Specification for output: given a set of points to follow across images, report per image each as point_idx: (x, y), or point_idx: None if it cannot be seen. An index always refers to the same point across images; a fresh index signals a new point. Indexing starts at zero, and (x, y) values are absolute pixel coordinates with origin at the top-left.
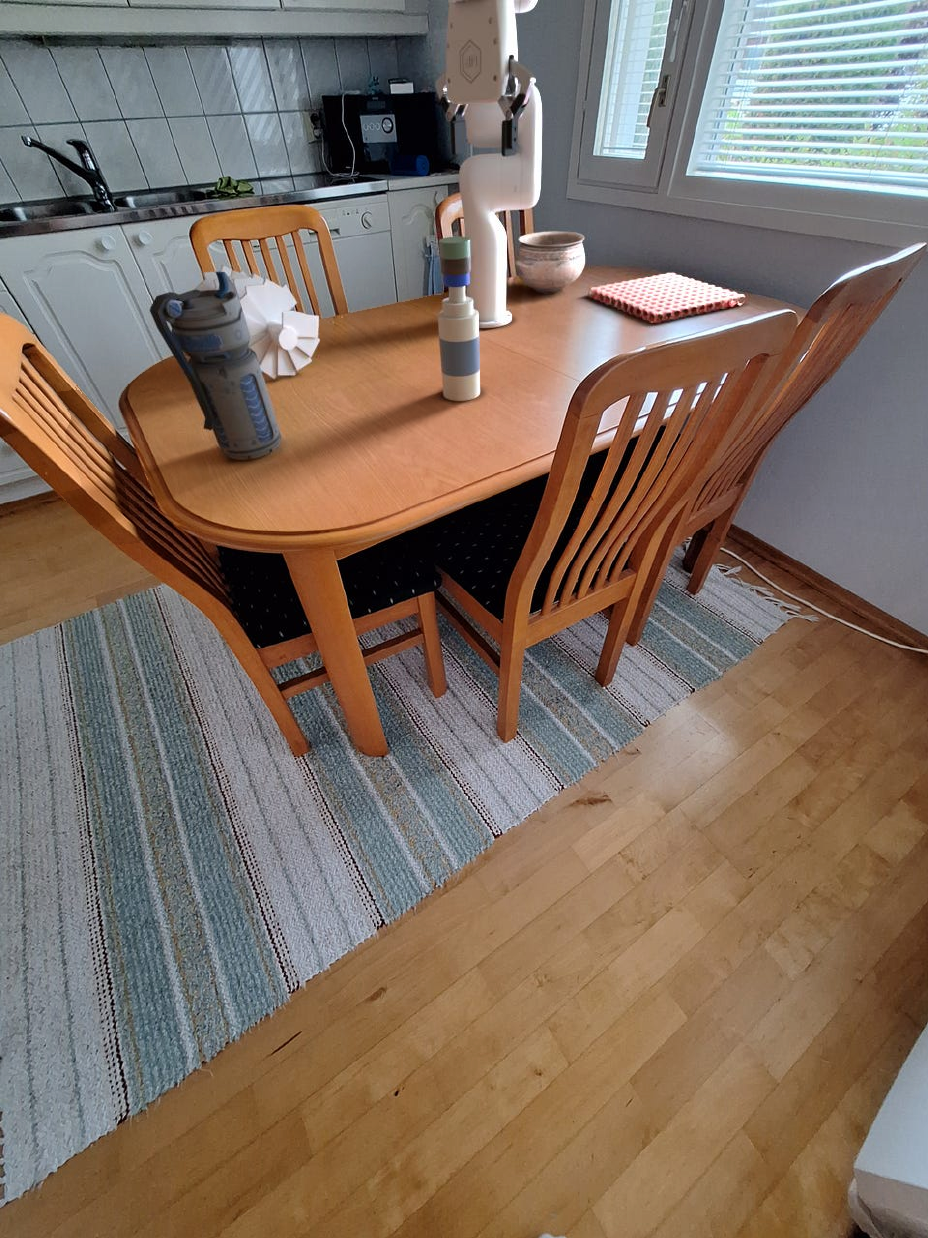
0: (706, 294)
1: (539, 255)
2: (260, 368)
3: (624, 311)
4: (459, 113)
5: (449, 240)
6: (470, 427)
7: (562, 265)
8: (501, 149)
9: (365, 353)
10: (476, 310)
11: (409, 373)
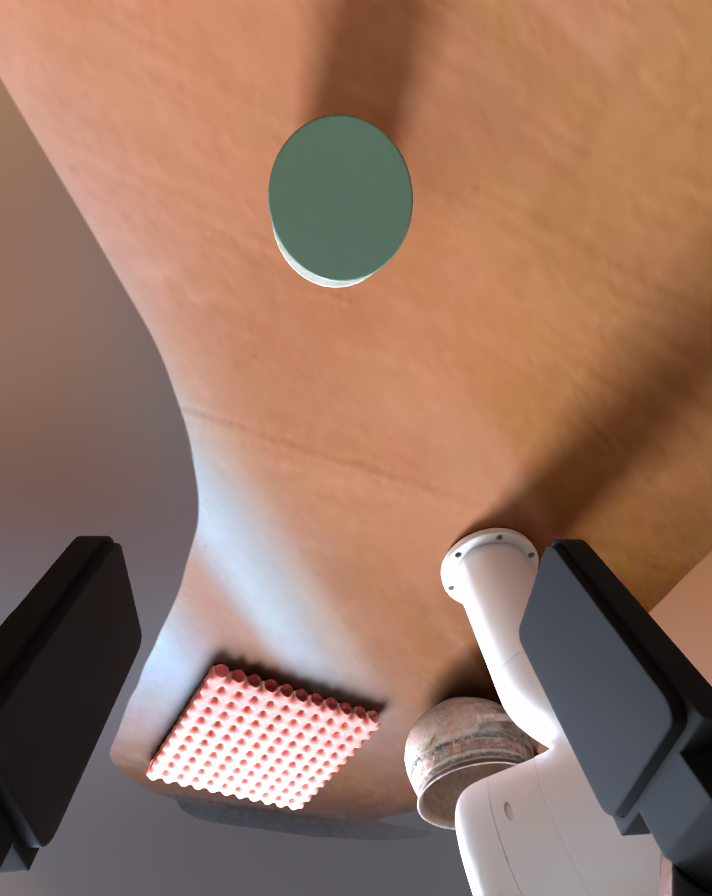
0: (197, 762)
1: (473, 744)
2: None
3: (288, 684)
4: (701, 863)
5: (354, 178)
6: (198, 57)
7: (426, 740)
8: (101, 559)
9: (653, 313)
10: (301, 273)
11: (499, 264)
